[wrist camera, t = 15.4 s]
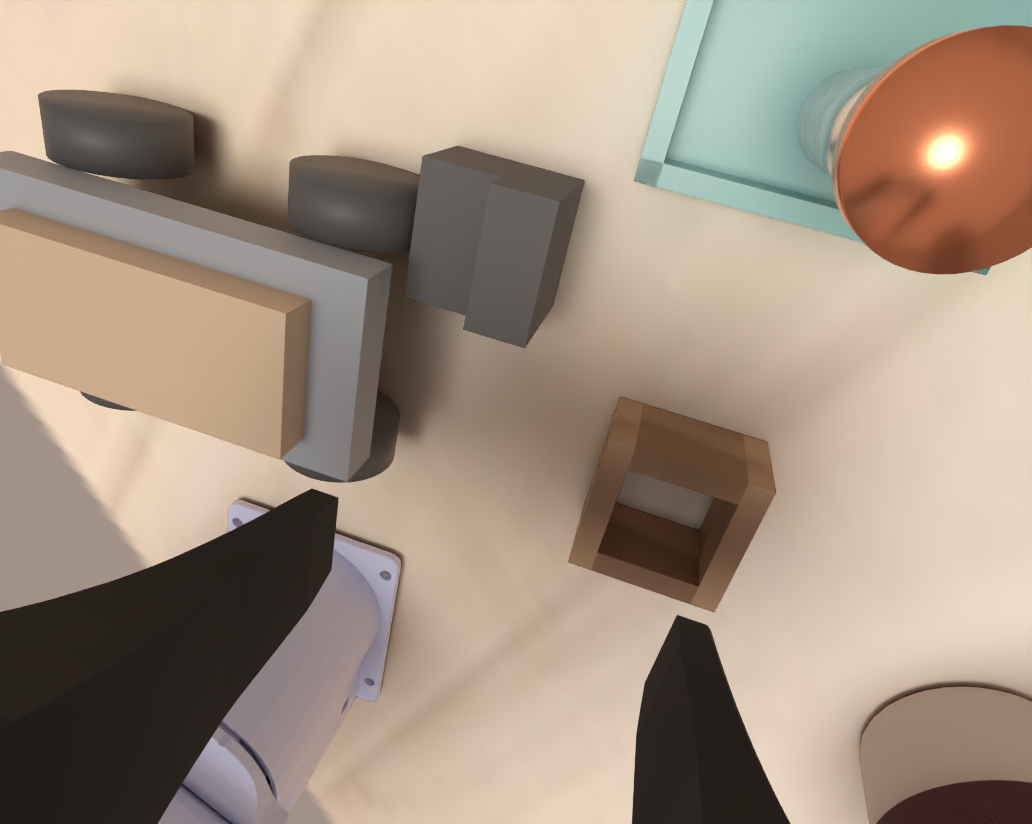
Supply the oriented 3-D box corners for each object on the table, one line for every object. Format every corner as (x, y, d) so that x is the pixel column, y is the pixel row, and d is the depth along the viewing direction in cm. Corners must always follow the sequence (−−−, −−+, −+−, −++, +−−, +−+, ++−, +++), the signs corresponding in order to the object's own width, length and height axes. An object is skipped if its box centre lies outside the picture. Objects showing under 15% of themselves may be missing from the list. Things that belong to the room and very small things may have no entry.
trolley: (451, 182, 20) (350, 224, 15) (411, 438, 25) (323, 547, 19) (112, 88, 22) (-101, 93, 16) (135, 347, 26) (-24, 423, 21)
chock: (553, 304, 21) (524, 348, 18) (439, 270, 22) (389, 306, 18) (585, 179, 19) (559, 201, 16) (459, 145, 20) (407, 160, 16)
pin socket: (713, 554, 24) (714, 612, 21) (582, 511, 25) (567, 562, 22) (767, 442, 22) (776, 492, 19) (620, 396, 22) (609, 439, 20)
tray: (960, 257, 18) (985, 275, 16) (639, 172, 19) (634, 181, 17) (1134, -50, 14) (1187, -65, 13) (729, -133, 15) (732, -157, 14)
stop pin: (880, 201, 17) (1018, 301, 10) (760, 168, 18) (803, 239, 10) (945, 68, 16) (1174, 60, 8) (813, 34, 16) (912, -2, 8)
